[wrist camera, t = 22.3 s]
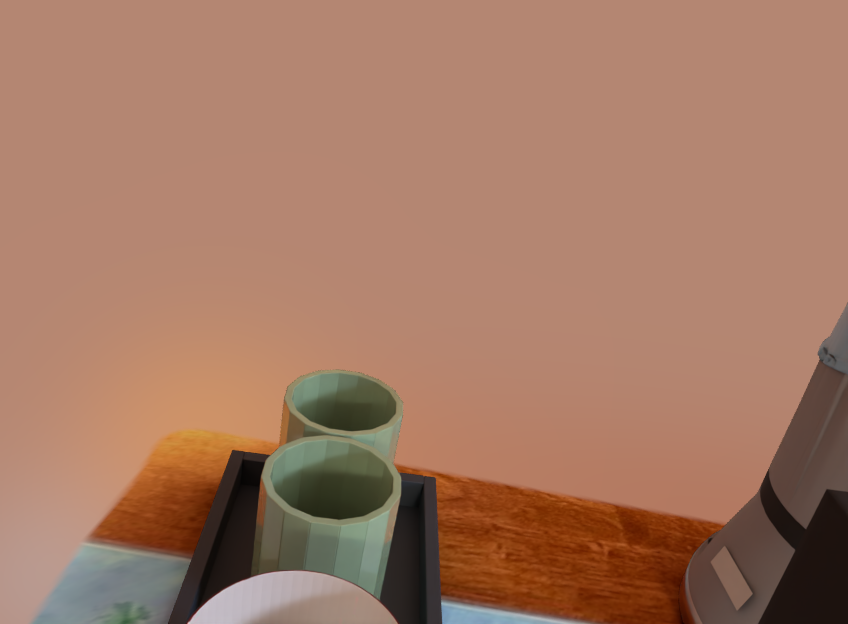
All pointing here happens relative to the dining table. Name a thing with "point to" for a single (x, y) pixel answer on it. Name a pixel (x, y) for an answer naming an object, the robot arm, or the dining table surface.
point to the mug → (293, 601)
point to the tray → (235, 534)
